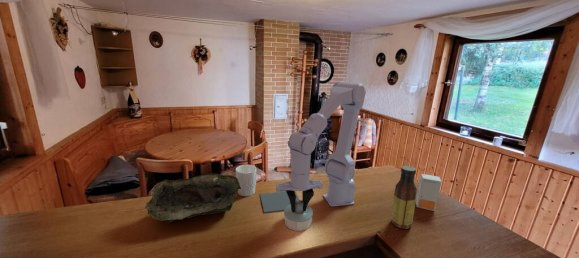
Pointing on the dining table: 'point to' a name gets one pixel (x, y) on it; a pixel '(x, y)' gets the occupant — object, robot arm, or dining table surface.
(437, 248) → the dining table surface
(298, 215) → the lid
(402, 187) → the sauce bottle
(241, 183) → the white cup
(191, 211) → the hollow geode rock
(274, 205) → the mat
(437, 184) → the skincare box
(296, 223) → the bowl
